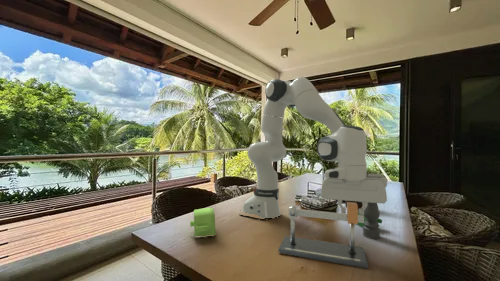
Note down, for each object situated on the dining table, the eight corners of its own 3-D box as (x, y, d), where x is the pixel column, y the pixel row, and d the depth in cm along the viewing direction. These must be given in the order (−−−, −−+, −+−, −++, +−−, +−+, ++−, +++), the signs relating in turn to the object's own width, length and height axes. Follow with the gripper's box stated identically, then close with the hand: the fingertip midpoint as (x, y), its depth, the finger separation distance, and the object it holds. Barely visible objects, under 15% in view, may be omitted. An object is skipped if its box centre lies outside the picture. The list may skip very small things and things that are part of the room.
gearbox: (191, 227, 106) (190, 206, 106) (212, 224, 108) (211, 204, 108) (190, 243, 88) (189, 218, 88) (216, 239, 90) (215, 215, 91)
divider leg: (347, 253, 76) (347, 204, 76) (347, 247, 80) (346, 201, 80) (357, 255, 75) (357, 205, 75) (356, 248, 79) (356, 202, 79)
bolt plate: (278, 253, 80) (278, 248, 80) (285, 239, 91) (285, 235, 91) (367, 268, 70) (367, 263, 70) (362, 251, 82) (362, 246, 82)
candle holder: (360, 233, 98) (359, 174, 98) (373, 232, 98) (373, 174, 98) (368, 239, 92) (368, 176, 92) (383, 238, 92) (383, 176, 92)
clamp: (376, 239, 102) (386, 223, 99) (364, 236, 101) (374, 220, 98) (362, 220, 113) (371, 205, 110) (352, 218, 113) (360, 203, 109)
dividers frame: (286, 244, 83) (286, 207, 84) (289, 237, 89) (289, 203, 89) (365, 256, 75) (365, 215, 75) (363, 248, 81) (363, 209, 81)
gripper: (384, 173, 77) (385, 214, 77) (321, 170, 84) (321, 208, 84) (389, 175, 71) (389, 220, 71) (320, 172, 78) (320, 213, 78)
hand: (352, 213), depth 77 cm, fingers open, 4 cm apart
